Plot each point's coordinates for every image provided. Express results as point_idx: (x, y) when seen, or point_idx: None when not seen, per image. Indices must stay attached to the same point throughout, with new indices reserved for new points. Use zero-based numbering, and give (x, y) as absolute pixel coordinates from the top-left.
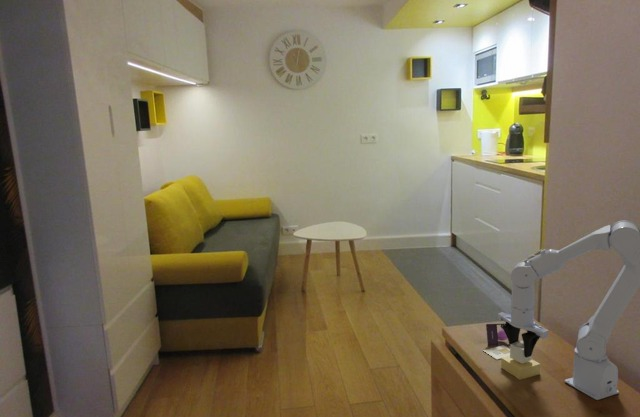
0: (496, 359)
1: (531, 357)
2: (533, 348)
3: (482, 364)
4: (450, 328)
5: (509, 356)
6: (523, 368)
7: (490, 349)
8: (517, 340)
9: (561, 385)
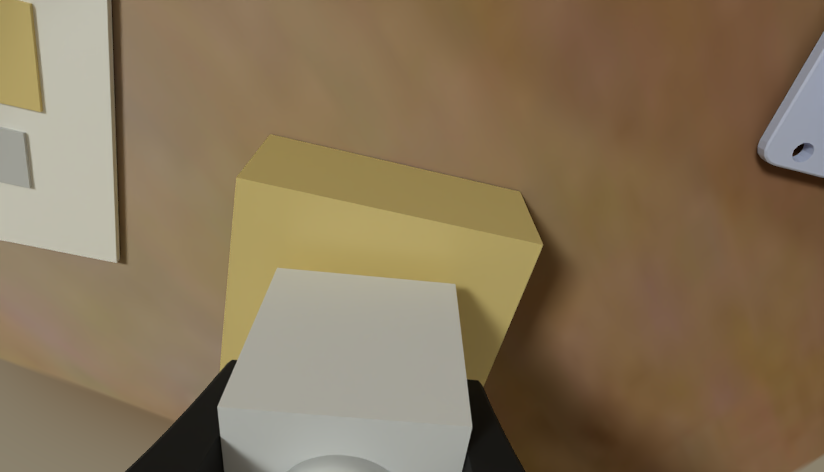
0: (114, 259)
1: (455, 312)
2: (517, 462)
3: (134, 388)
4: None
5: (234, 336)
6: None
7: None
8: (211, 464)
9: (737, 219)
